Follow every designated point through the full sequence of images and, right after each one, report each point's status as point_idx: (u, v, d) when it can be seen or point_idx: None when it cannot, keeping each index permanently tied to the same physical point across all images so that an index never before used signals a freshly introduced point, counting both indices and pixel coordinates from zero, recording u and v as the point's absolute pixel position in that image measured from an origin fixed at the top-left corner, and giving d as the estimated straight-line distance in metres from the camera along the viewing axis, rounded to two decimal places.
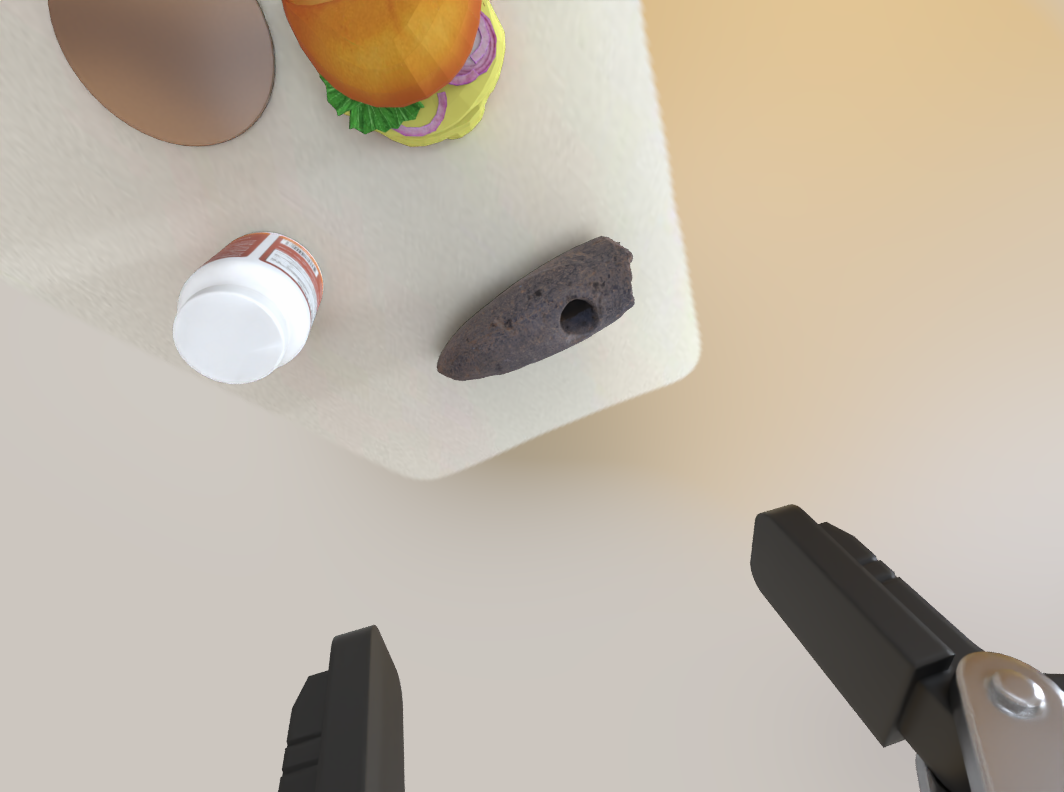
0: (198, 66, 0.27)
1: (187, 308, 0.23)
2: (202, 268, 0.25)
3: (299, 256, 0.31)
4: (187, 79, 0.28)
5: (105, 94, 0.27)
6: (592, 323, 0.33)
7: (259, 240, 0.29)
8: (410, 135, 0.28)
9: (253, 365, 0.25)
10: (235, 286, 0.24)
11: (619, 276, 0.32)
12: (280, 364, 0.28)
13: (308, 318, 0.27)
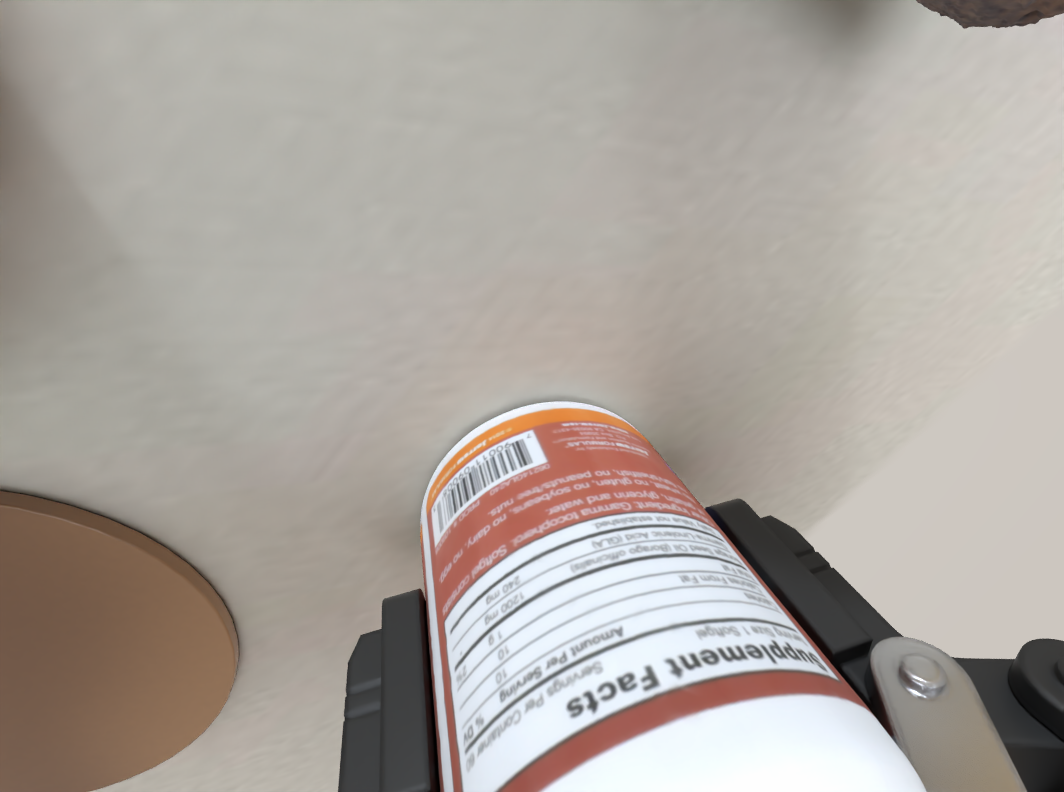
0: (16, 634, 0.11)
1: None
2: None
3: (475, 511, 0.09)
4: (64, 649, 0.11)
5: (164, 744, 0.14)
6: None
7: (427, 610, 0.10)
8: None
9: None
10: None
11: None
12: None
13: (772, 757, 0.05)
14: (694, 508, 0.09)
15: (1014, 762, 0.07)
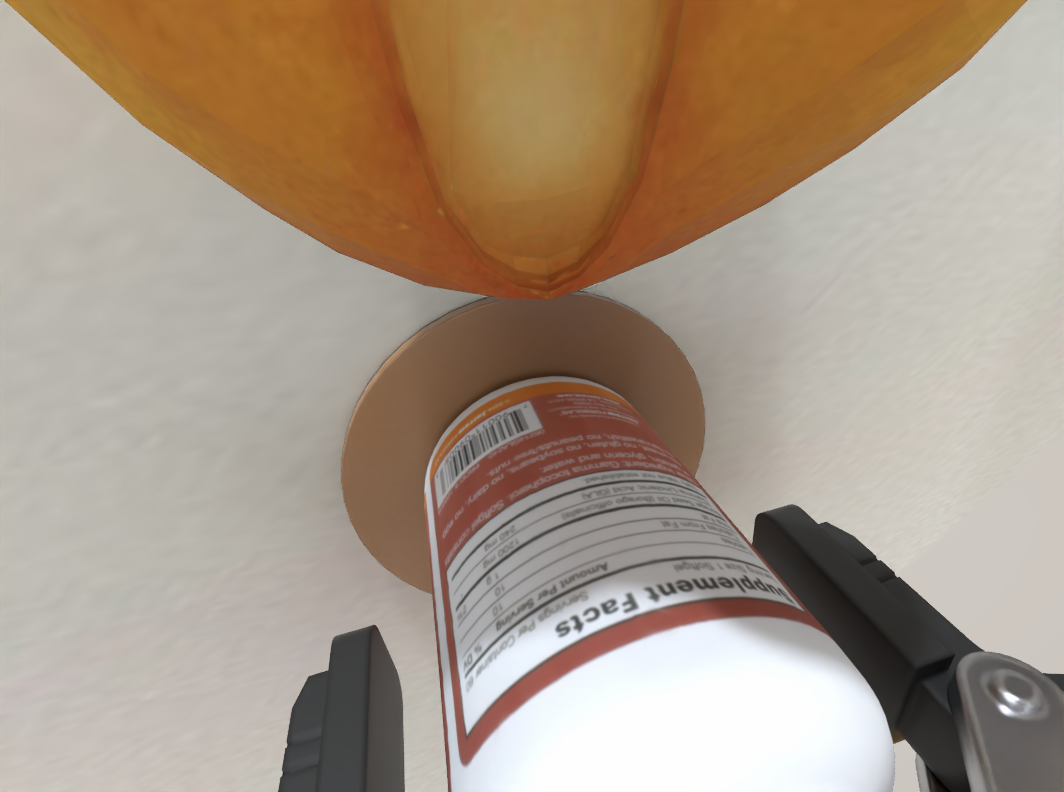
0: None
1: None
2: None
3: (474, 473, 0.10)
4: None
5: None
6: None
7: (431, 567, 0.10)
8: None
9: None
10: None
11: None
12: (893, 750, 0.07)
13: (735, 663, 0.06)
14: (679, 469, 0.10)
15: None
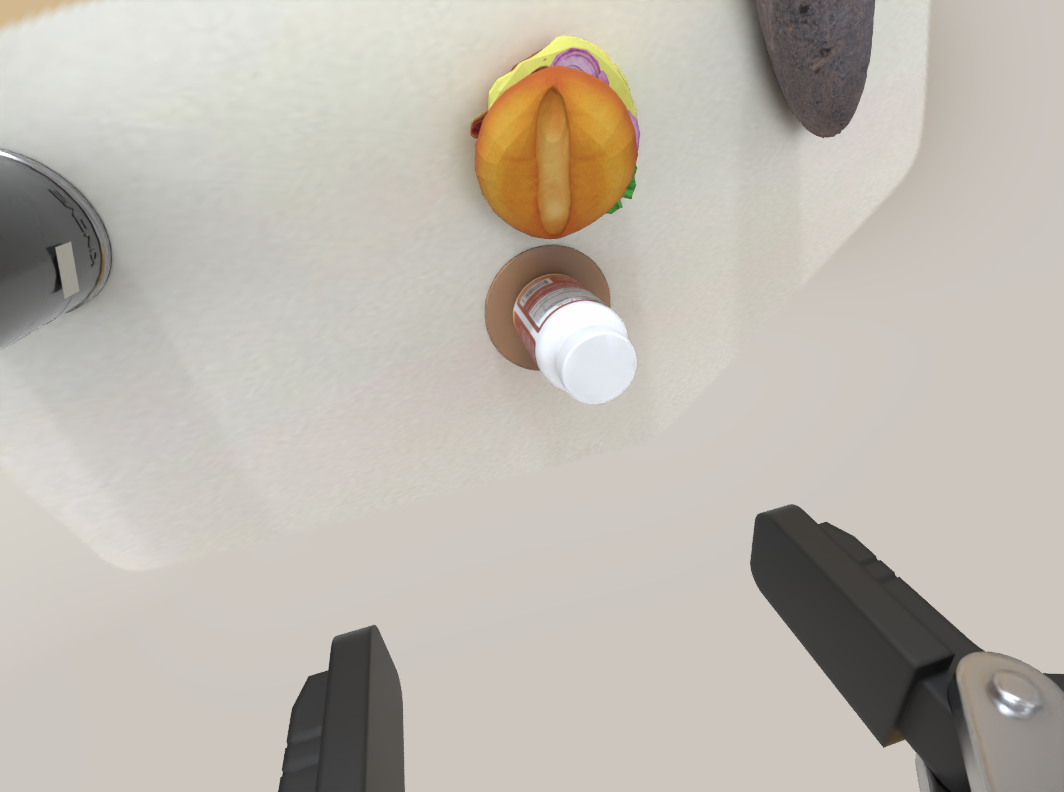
0: None
1: (572, 392, 0.30)
2: (542, 372, 0.33)
3: (534, 293, 0.36)
4: None
5: None
6: None
7: (521, 322, 0.36)
8: (637, 144, 0.32)
9: (623, 356, 0.30)
10: (559, 358, 0.30)
11: None
12: (625, 331, 0.32)
13: (589, 303, 0.31)
14: (590, 292, 0.35)
15: None
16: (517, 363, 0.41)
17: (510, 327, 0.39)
